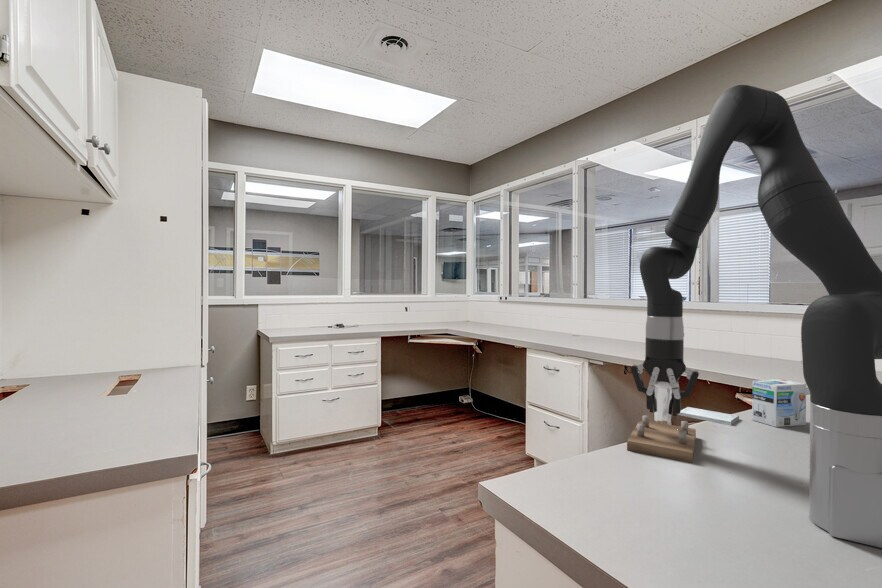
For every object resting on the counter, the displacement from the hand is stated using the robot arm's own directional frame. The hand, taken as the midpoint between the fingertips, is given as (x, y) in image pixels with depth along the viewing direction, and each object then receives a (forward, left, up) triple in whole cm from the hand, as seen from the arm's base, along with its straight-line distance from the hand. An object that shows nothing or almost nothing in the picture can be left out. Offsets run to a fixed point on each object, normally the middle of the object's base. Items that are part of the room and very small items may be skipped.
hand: (663, 413), depth 94 cm
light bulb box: (+36, -24, -7) cm, 44 cm away
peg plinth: (0, 0, -7) cm, 7 cm away
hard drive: (+31, -8, -8) cm, 33 cm away
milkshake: (0, 0, -2) cm, 2 cm away
